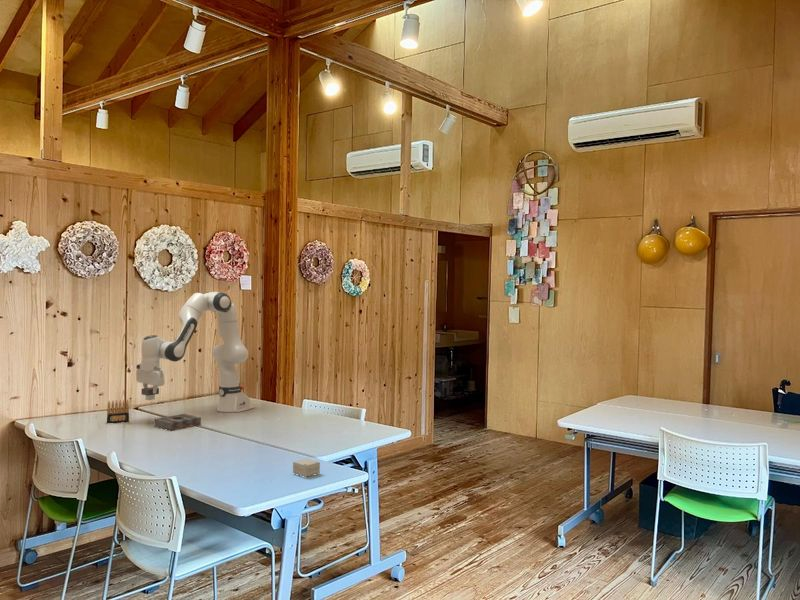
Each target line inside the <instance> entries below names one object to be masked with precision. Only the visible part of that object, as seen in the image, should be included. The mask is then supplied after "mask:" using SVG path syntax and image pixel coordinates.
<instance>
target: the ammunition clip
mask: <svg viewBox="0 0 800 600" xmlns="http://www.w3.org/2000/svg"><path fill="white" fill-rule="evenodd" d="M106 410H107V411H106V413H107V416H106V424H107V423H113V424H122V423H121V422H125V423H130V406H129V400H128V399H126V401H125V399H123V401H121V399H119V402H118V400H115V402H114V400H112V402H111V401H110V400H108V402H107V409H106Z"/></svg>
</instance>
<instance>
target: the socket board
mask: <svg viewBox="0 0 800 600" xmlns="http://www.w3.org/2000/svg"><path fill="white" fill-rule="evenodd" d="M201 420H202V418H201V417H200V416H196V415H192V414H188V413H187V414H186V413H181V414H175V415H169V416H166V417H164V416H163V417H159V418H154V422H153V423H154V424H153V425H154V428H157V427H158V429H161V428H162V430H165V429H167V430H166V431H169V430H170V431H169V432H172V430H173V431H178V430H183V429H187V427H188V428H191V427H197V426H201V425H202V422H201ZM182 428H183V429H182ZM177 429H178V430H177Z"/></svg>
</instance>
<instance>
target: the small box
mask: <svg viewBox="0 0 800 600" xmlns="http://www.w3.org/2000/svg"><path fill="white" fill-rule="evenodd" d="M320 468H321V462H320V461H318V460H313V459H311V458H303V459H299V460H297V461H292V474H293V473H295V474H298V475H301V476H304V477H307V476H311V475H314V474H318V473H320V472H321V469H320ZM295 474H294V475H295ZM298 475H297V476H298ZM318 475H319V474H318ZM301 476H300V477H301ZM311 477H312V476H311ZM307 478H308V477H307Z"/></svg>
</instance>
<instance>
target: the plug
mask: <svg viewBox="0 0 800 600" xmlns="http://www.w3.org/2000/svg"><path fill="white" fill-rule="evenodd" d="M153 388H154V387H153V386H151V387H148V388H144V387H143V388H141V395H142V396H145V400H146V401H153V400H156V395H159V394H160V388H159V387H158V388H157V391H156V393H155V394H153V393H152V390H153Z"/></svg>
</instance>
